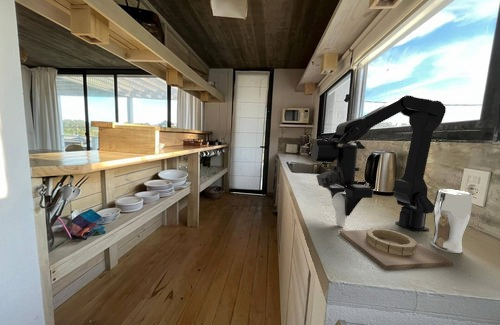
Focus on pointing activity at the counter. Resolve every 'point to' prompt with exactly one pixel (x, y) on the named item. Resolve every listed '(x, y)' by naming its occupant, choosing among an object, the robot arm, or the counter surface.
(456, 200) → the beer glass
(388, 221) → the counter surface
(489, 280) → the counter surface
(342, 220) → the lightbulb
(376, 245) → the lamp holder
